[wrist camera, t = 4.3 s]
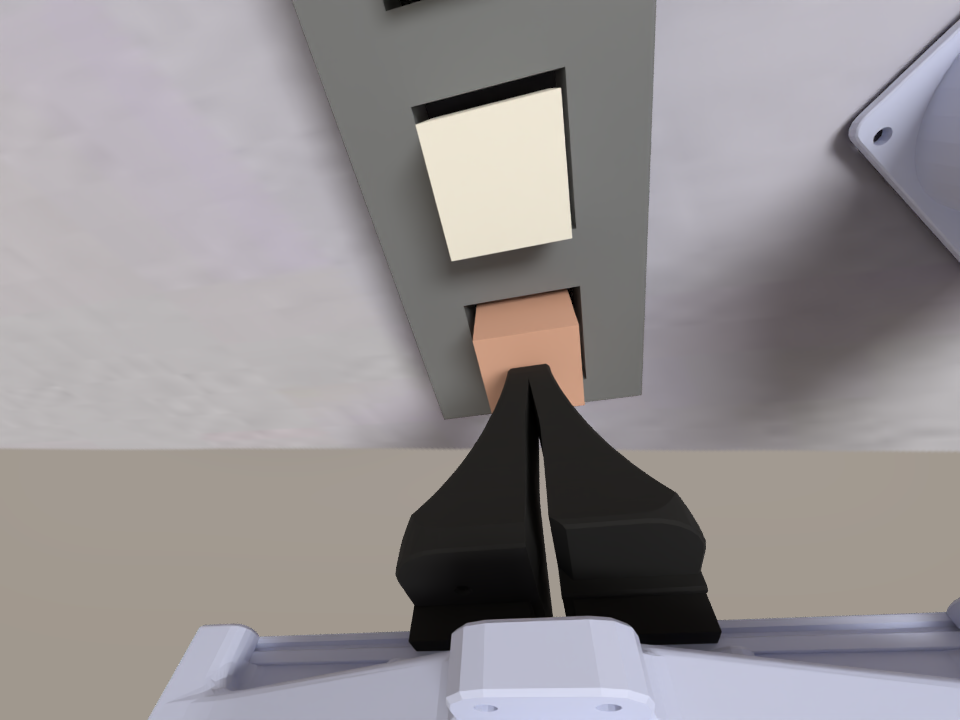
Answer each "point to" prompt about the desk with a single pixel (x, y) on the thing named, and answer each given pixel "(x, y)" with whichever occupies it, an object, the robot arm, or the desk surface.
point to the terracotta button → (529, 341)
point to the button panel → (589, 154)
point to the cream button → (500, 174)
